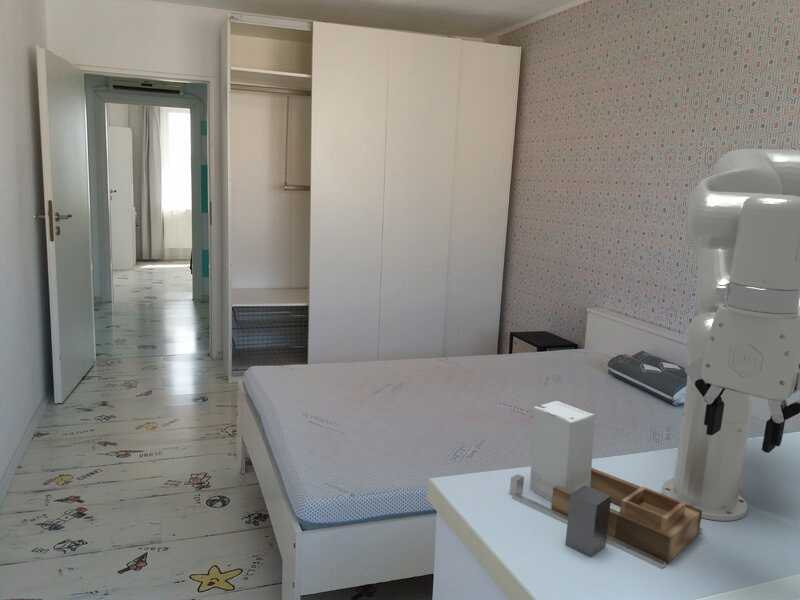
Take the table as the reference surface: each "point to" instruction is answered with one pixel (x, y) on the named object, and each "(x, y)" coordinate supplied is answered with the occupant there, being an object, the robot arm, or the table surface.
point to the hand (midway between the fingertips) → (740, 439)
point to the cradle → (641, 516)
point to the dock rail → (517, 489)
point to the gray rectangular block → (588, 520)
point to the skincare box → (561, 448)
